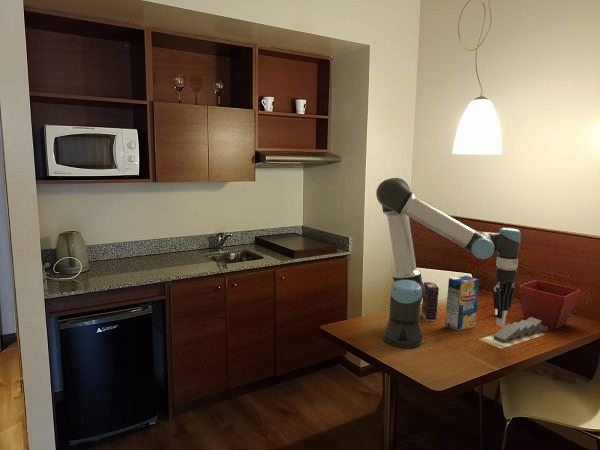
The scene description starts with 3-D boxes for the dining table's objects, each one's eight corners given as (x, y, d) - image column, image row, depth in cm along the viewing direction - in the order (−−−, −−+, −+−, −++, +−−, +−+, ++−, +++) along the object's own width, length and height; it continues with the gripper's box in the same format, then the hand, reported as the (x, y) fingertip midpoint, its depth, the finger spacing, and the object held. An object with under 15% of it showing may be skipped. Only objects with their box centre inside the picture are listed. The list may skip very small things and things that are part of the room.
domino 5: (534, 330, 184) (547, 326, 189) (523, 326, 188) (536, 322, 193) (534, 333, 184) (547, 330, 189) (522, 329, 188) (536, 326, 193)
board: (500, 351, 169) (500, 348, 168) (478, 341, 177) (478, 338, 177) (544, 336, 184) (545, 334, 184) (522, 328, 192) (522, 326, 192)
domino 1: (504, 339, 173) (519, 327, 178) (493, 335, 177) (508, 323, 182) (504, 343, 174) (520, 331, 178) (493, 338, 178) (508, 326, 182)
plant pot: (576, 325, 199) (581, 289, 196) (559, 335, 187) (564, 296, 184) (532, 313, 213) (536, 279, 211) (514, 321, 201) (518, 285, 198)
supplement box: (436, 321, 197) (439, 287, 195) (425, 321, 197) (428, 287, 195) (431, 315, 206) (433, 282, 203) (420, 314, 206) (423, 281, 203)
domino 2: (512, 337, 176) (527, 325, 180) (500, 332, 180) (515, 321, 184) (512, 340, 176) (527, 328, 181) (501, 336, 181) (516, 324, 185)
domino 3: (519, 335, 178) (534, 323, 183) (508, 330, 183) (522, 319, 187) (520, 338, 179) (534, 326, 183) (508, 333, 183) (523, 322, 188)
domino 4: (527, 332, 181) (541, 320, 186) (516, 328, 185) (530, 316, 190) (528, 335, 182) (542, 323, 186) (516, 331, 186) (530, 319, 190)
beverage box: (444, 327, 191) (448, 278, 188) (462, 323, 196) (466, 275, 193) (456, 332, 185) (461, 282, 182) (474, 328, 190) (479, 279, 187)
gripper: (505, 272, 165) (498, 331, 168) (525, 268, 171) (519, 326, 175) (487, 267, 171) (481, 325, 174) (507, 264, 178) (502, 319, 181)
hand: (500, 325), depth 175 cm, fingers closed
